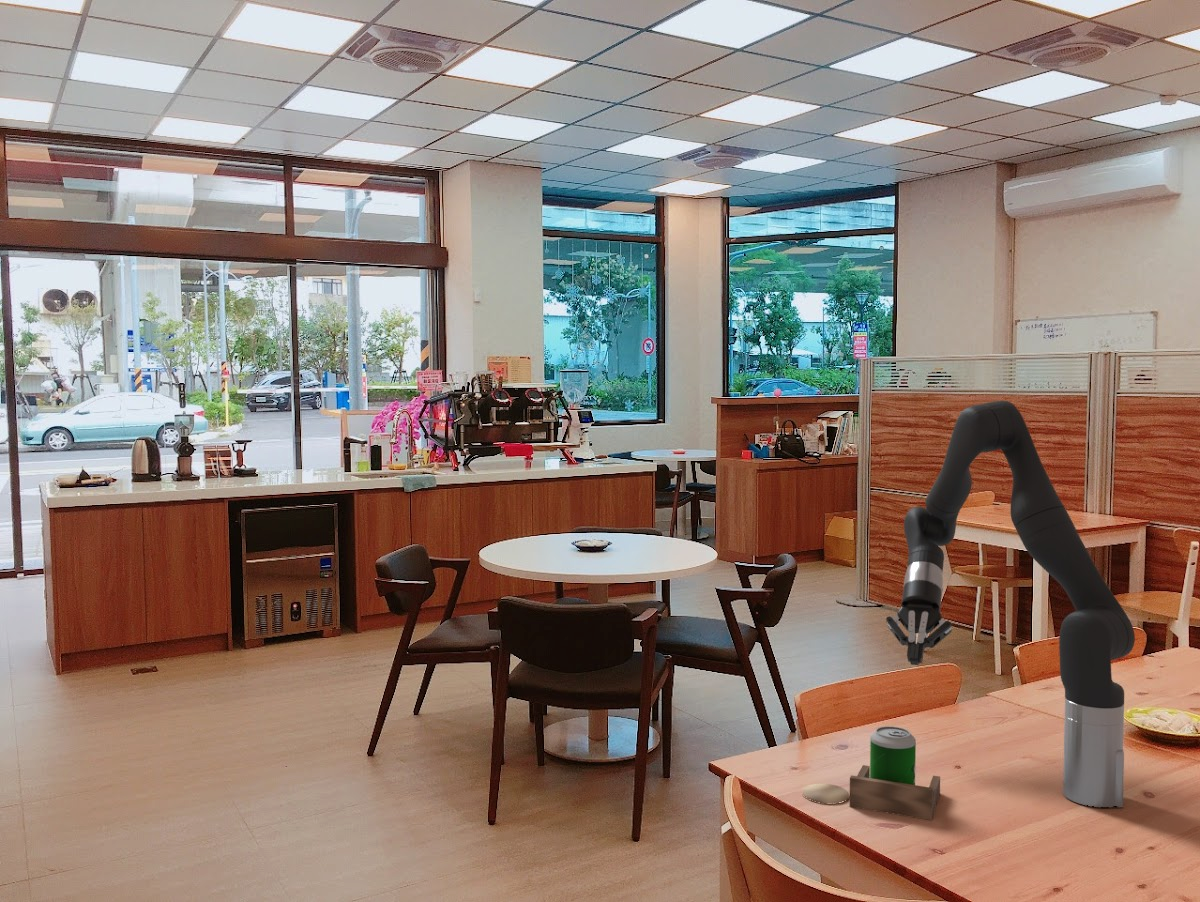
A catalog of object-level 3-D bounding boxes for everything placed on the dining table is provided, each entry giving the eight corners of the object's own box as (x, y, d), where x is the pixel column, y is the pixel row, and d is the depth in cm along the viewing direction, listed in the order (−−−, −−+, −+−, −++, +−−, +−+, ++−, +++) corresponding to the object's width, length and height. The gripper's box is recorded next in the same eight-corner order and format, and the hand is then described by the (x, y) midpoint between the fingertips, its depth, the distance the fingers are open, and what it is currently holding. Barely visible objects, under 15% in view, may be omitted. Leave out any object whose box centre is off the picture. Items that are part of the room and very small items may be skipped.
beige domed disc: (852, 790, 176) (852, 787, 176) (843, 807, 169) (843, 804, 169) (808, 783, 180) (808, 780, 180) (797, 799, 172) (797, 796, 172)
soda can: (915, 810, 168) (916, 740, 167) (869, 805, 170) (870, 736, 169) (914, 793, 175) (915, 726, 174) (870, 789, 177) (870, 723, 176)
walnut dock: (939, 793, 175) (940, 765, 175) (931, 820, 164) (931, 790, 164) (862, 781, 181) (863, 754, 180) (849, 806, 169) (849, 777, 169)
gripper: (887, 576, 202) (877, 649, 192) (955, 580, 197) (949, 655, 186) (891, 597, 207) (881, 669, 197) (958, 602, 202) (951, 676, 191)
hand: (914, 662), depth 192 cm, fingers closed
